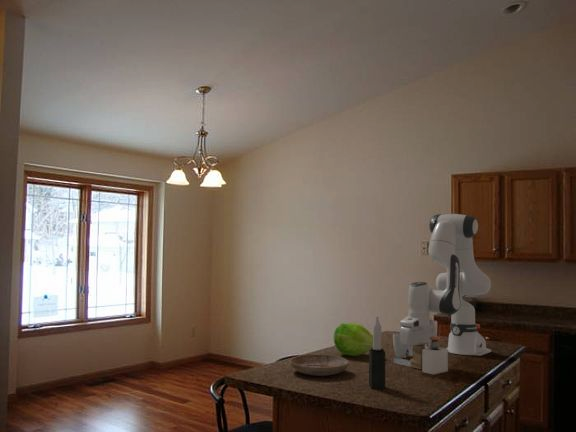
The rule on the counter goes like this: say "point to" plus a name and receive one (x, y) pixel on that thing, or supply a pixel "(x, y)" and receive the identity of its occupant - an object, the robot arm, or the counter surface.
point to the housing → (434, 360)
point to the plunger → (435, 343)
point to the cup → (399, 347)
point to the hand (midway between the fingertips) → (419, 354)
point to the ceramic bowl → (319, 364)
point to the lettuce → (353, 339)
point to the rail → (402, 362)
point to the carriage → (417, 356)
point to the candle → (377, 360)
